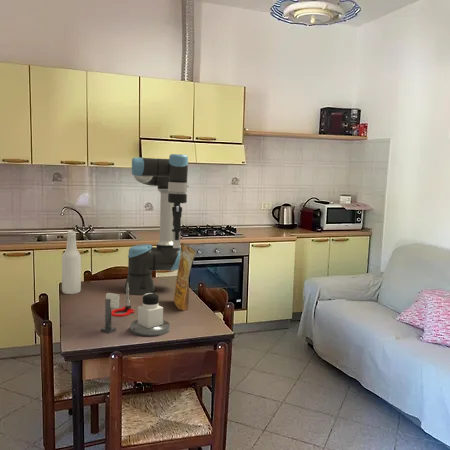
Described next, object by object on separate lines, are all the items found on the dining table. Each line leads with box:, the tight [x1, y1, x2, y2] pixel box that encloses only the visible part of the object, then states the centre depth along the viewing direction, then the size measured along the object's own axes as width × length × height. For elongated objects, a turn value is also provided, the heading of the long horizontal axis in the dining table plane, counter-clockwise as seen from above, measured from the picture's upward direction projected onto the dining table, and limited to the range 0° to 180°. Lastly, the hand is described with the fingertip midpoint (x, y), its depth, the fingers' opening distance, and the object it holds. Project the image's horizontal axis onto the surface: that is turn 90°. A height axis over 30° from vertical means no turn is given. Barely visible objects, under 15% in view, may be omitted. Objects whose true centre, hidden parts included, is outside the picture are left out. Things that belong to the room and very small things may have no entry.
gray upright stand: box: [100, 292, 120, 334], centre depth 177 cm, size 4×6×14 cm, turn 67°
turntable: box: [129, 319, 171, 337], centre depth 182 cm, size 15×15×2 cm
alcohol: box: [61, 230, 82, 295], centre depth 227 cm, size 9×9×30 cm
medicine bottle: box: [137, 292, 164, 329], centre depth 181 cm, size 7×7×12 cm
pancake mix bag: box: [173, 242, 197, 311], centre depth 213 cm, size 7×19×28 cm, turn 17°
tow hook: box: [111, 283, 135, 318], centre depth 199 cm, size 8×13×9 cm
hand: (175, 244), depth 191 cm, fingers open, 13 cm apart
